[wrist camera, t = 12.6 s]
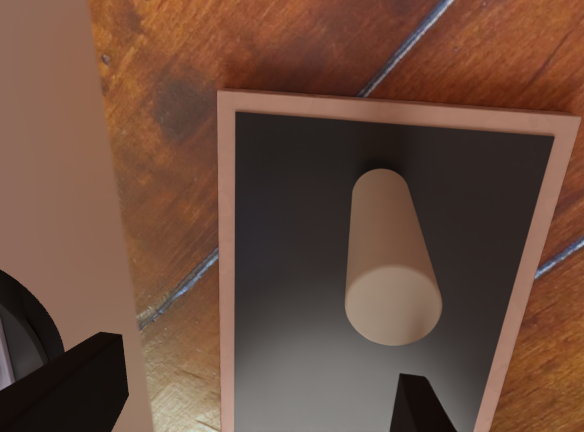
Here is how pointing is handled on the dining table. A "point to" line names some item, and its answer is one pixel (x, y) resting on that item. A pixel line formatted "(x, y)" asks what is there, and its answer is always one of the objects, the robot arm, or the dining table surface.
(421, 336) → the stylus
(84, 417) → the robot arm
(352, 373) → the tablet
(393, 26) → the dining table surface
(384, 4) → the dining table surface
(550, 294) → the dining table surface
